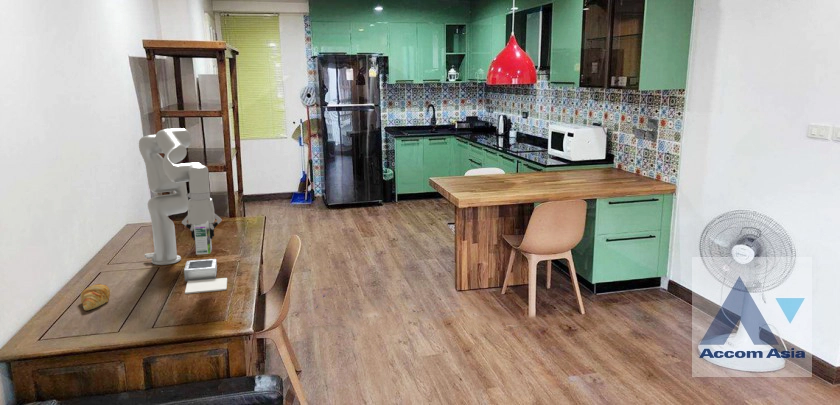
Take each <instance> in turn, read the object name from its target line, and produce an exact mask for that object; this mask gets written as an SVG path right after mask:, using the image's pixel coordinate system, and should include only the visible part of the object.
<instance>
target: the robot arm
mask: <svg viewBox="0 0 840 405" xmlns="http://www.w3.org/2000/svg"><path fill="white" fill-rule="evenodd" d="M191 144H192V136H191V133H190V131H189V130H188V129H186V128H184V127H183V128H181V127H179V128H164V129H160V130H159V131H157V132H156V133H155V134H148V135H145V136H142V137H140V139H139V140H138V148H139V153H140V155H141V157H142V159H143V161H144V164H145V171H146V176H147V183H148V189H149V190H150V192H152V193H155V194H161V193H169V192H174V193H170V194H162V195H156V196H152V197H151V198H149V200H148V201H147V209H148V212H149V217H150V220H151V221H150V222H151V229H152V239H153V248H154V252H151V253H144V259H148V260H150V259H151V263H152V264H154V265H158V266H166V265H172V264H176V263H179V262H180V261H181V260H182V257H181V255H178V251H177V238H176V228H175V227H176V226H175V223H174V221H173V220H172V219H170V218H169V216H172V215H178V214H183V213H186V212H187V215H186V216H185V217H184V219H182V221H181V224H182V225H184V226H185V227H186V228H187V229H189V230H190V231H191V233H190V234H191V238H192V239H193V241H195V232H194V225H196V224H205V223H206V222H207V221H208V223H209V225H210V239H211V240H213V237H215V228H216V227H217V226H218V225H219V224H220V223H221V222H222V220H223V219H222V218H221V217H220V216H219V215H218V214H217V213H215V207H214V202H213V198H211V190H210V189H211V188H210V176H209V175H210V174H209V168H208V166H205V165H203V164H202V162H201V163H200V162H198V161H197V162H185V163H179V162H181V161H183V160H184V159H185V158H186V156H187V154H188V153H187V152H188V151H187V148H189V147H190V146H191ZM160 154H164V156H163V157H162V155H160ZM187 182H188V188H189V193H188V190H187Z"/></svg>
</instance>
